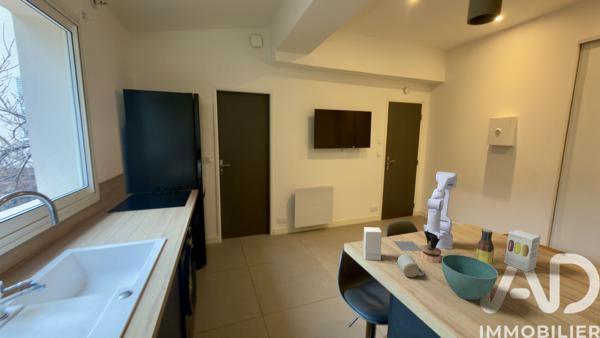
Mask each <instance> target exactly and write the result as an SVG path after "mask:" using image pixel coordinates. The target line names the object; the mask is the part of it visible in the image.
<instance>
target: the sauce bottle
mask: <svg viewBox="0 0 600 338" xmlns="http://www.w3.org/2000/svg"><path fill="white" fill-rule="evenodd" d="M492 236H493V231H492V230H491V229H490V230H489V229H487V228H485V229H481V237H480V240H479V241H478V242H477V247H476V248H477V249H476V258H475V259H478V260H481V261H483V262H485V263H487V264H489V265H490V266H492V267H493V266H494V265H493V264H494V263H493V262H494V253H495V252H494V251H495V247H494V244H493V240H492Z"/></svg>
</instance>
